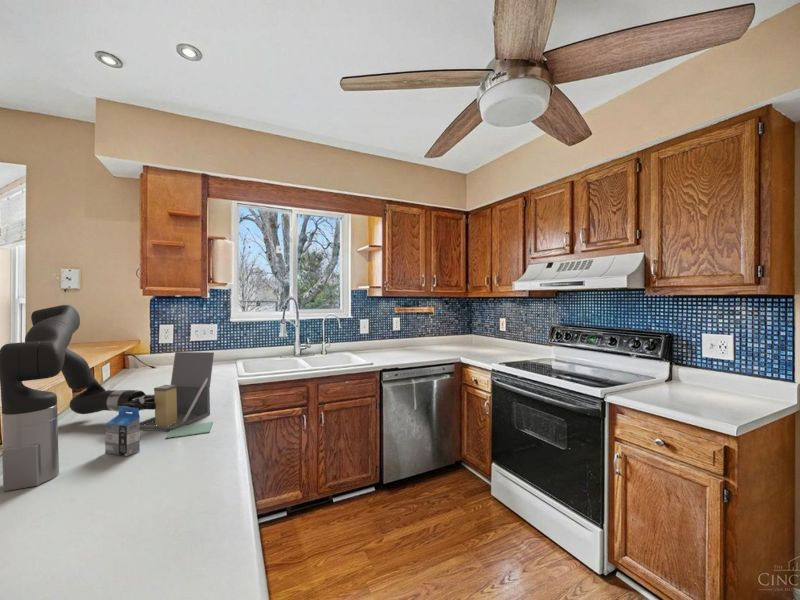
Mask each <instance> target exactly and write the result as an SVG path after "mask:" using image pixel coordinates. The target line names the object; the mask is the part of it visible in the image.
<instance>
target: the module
mask: <svg viewBox="0 0 800 600" xmlns="http://www.w3.org/2000/svg"><path fill="white" fill-rule="evenodd" d="M176 388H177V385H171V384H163V385H160V386H157V387H154V388H153V391H154V393H153V395H154V396H155V403H156V409H154V417H155V421H154V424H155V425H157V426H168V425H169V426H171V425H173V424H172V423H174V422H176V423H178V414H177V393H176ZM170 424H171V425H170ZM174 424H175V423H174ZM155 425H154V426H155Z"/></svg>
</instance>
